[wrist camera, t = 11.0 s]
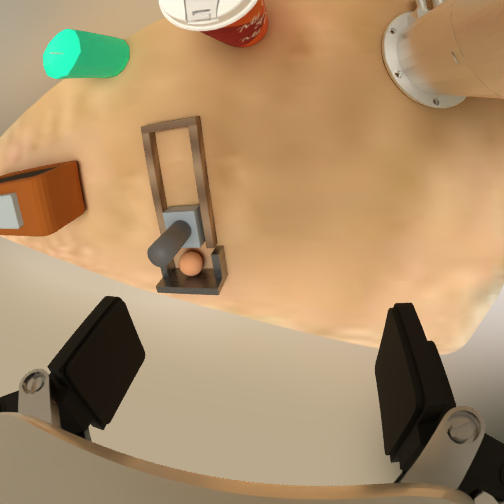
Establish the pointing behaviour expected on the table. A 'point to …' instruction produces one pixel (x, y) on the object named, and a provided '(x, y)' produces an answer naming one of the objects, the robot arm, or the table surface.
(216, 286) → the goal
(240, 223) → the table surface
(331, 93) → the table surface
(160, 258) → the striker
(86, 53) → the candle
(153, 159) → the frame
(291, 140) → the table surface
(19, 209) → the alarm clock
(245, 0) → the coffee cup
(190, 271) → the ball
